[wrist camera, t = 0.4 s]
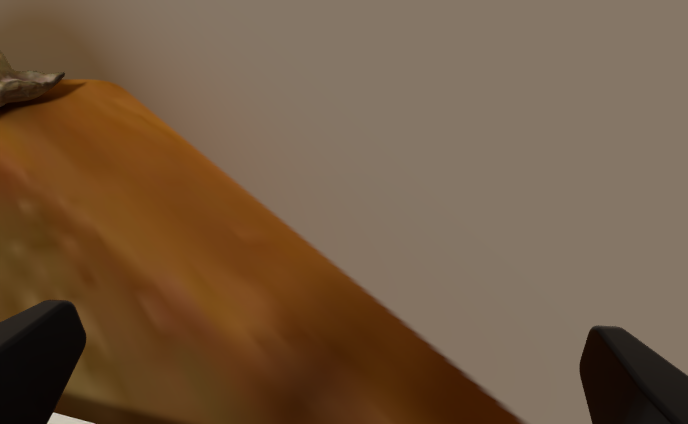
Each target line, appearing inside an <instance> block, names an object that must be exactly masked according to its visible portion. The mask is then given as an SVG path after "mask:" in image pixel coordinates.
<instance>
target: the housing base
mask: <svg viewBox="0 0 688 424" xmlns="http://www.w3.org/2000/svg"><path fill="white" fill-rule="evenodd" d="M47 424H94V423H91V422H87V421H83V420H79V419H76V418H72V417H68V416H65V415H61V414H57V413H53V414H52V415H51V417H50V419H49V421H48V423H47Z"/></svg>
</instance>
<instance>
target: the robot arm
mask: <svg viewBox="0 0 688 424" xmlns="http://www.w3.org/2000/svg"><path fill="white" fill-rule="evenodd" d="M85 344H86V333H85V330H84V328H83V325H82V323H81V320H80V318H79V315H78V313H77V310H76V308H75V306H74V305H73V304H72V303H71V302H69V301H66V300H46V301H43V302H41V303H39V304H37V305H35V306H33V307H31V308H29V309H27V310H25V311H23V312H21V313H19V314H17V315H15V316H12V317H10V318H8V319H6V320H4V321H2V322H0V424H47V423H48V421H49V419H50V417H51V415H52V414H53V412H54V409H55V407H56V405H57V403H58V401H59V399H60V397H61V395H62V393H63V391H64V389H65V387H66V385H67V383H68V381H69V379H70V377H71V374H72V372H73V370H74V368H75V366H76V364H77V362H78V360H79V358H80V356H81V354H82V352H83V350H84V347H85ZM580 376H581V380H582V385H583V388H584V392H585V396H586V400H587V404H588V408H589V412H590V416H591V420H592V424H688V376H687V375H686V374H685V373H683V372H682V371H681V370H679V369H678V368H676V367H675V366H674V365H672V364H671V363H670V362H668V361H667V360H665V359H664V358H663V357H661V356H660V355H659V354H657V353H656V352H655V351H653V350H652V349H650V348H649V347H648V346H646V345H645V344H643V343H642V342H641V341H639V340H638V339H637V338H635V337H634V336H633V335H631V334H630V333H629V332H627V331H626V330H624V329H623V328H620V327H615V326H594V327H592V329H591V330H590V332H589V334H588V337H587V340H586V344H585V347H584V350H583V353H582V357H581V360H580Z"/></svg>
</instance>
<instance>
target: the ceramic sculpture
mask: <svg viewBox="0 0 688 424" xmlns="http://www.w3.org/2000/svg"><path fill="white" fill-rule="evenodd" d="M64 75H65V73H64V72H63V73H62V72H61V73H53V74H44V73H41V72H37V71H26V72H18V71H14V70H13V69H12V68H11V66H10V65H9V63H8V61H7V59H6V57H5V56H4V54H3V53H2V52H1V51H0V107H1V106H3V105H5V104H6V103H10V102H21V101H28V100H32V99H35V98H37V97H39V96H41V95H42V94H44V93H45V92H47V91H48V90H49V89H51V88H52V87H53V86H55V85H56V84H57V83H58V82H59V81H60V80H61V79H62V78H63V77H64Z"/></svg>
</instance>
